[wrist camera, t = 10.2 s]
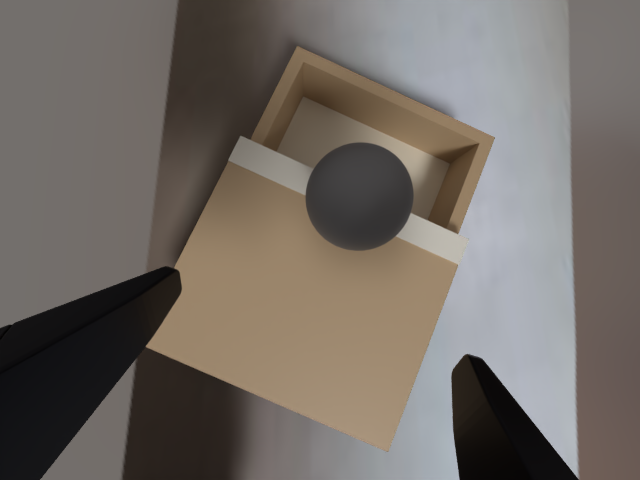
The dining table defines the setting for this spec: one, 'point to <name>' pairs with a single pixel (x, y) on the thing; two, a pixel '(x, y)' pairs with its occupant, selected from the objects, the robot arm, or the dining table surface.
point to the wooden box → (375, 133)
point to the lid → (313, 286)
